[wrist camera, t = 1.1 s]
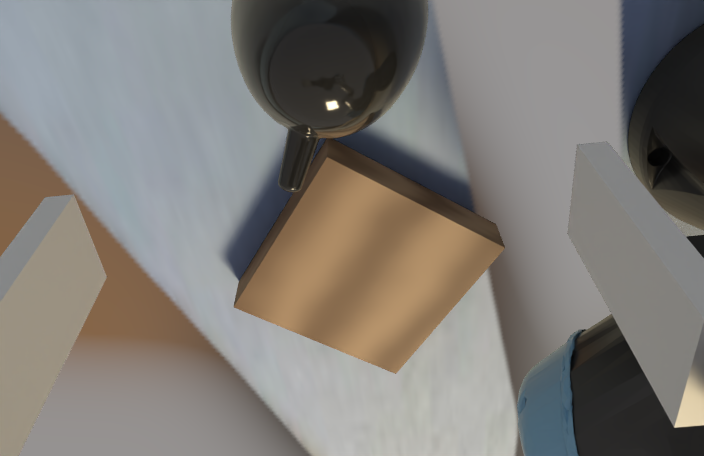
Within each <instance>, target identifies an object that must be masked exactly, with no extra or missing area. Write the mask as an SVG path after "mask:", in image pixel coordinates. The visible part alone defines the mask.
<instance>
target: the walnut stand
mask: <svg viewBox="0 0 704 456" xmlns="http://www.w3.org/2000/svg"><path fill="white" fill-rule="evenodd" d="M504 249H505V246H504V244H503V241H502V239H501V236H500V233H499V231H498V228H497V226H496V224H495V223H493V222H491V221H489V220H487V219H485V218H483V217H481V216H479V215H477V214H475V213H474V212H472V211H470V210H468V209H466V208H464V207H462V206H460V205H458V204H456V203H454V202H452V201H450V200H449V199H447V198H445V197H443V196H441V195H439V194H437V193H435V192H433V191H431V190H429V189H427V188H426V187H424V186H422V185H420V184H418V183H416V182H414V181H412V180H410V179H408V178H406V177H404V176H403V175H401V174H399V173H397V172H395V171H393V170H391V169H389V168H387V167H385V166H383V165H381V164H379V163H378V162H376V161H374V160H372V159H370V158H368V157H366V156H364V155H362V154H360V153H358V152H356V151H355V150H353V149H351V148H349V147H347V146H345V145H343V144H341V143H339V142H337V141H335V140H333V139H332V138H327V139H326V140H325V142H324V144H323V145H322V147H321V149H320V150H319V152H318V153H317V155H316V157H315V158H314V160H313V162H312V163H311V165H310V166H309V169H308V172H307V174H306V177H305V180H304V183H303V185H302V188H301V190H300V191H298V192H294V193H293V194H292V196H291V197H290V199H289V201H288V202H287V204H286V206H285V207H284V209H283V210H282V212H281V214H280V215H279V217H278V219H277V220H276V222H275V224H274V225H273V227H272V228H271V230H270V232H269V233H268V235H267V237H266V238H265V240H264V241H263V243H262V245H261V246H260V248H259V250H258V251H257V253H256V255H255V256H254V258H253V259H252V261H251V263H250V264H249V266H248V268H247V269H246V271H245V272H244V274H243V276H242V277H241V279H240V281H239V283H238V288H237V293H236V298H235V302H234V308H237V309H239V310H242V311H244V312H246V313H249V314H251V315H254V316H256V317H259V318H261V319H264V320H266V321H268V322H271V323H273V324H276V325H278V326H281V327H283V328H285V329H288V330H290V331H293V332H295V333H298V334H300V335H303V336H305V337H307V338H310V339H312V340H315V341H317V342H320V343H322V344H324V345H327V346H329V347H332V348H334V349H337V350H339V351H342V352H344V353H346V354H349V355H351V356H354V357H356V358H359V359H361V360H363V361H366V362H368V363H371V364H373V365H376V366H378V367H381V368H383V369H385V370H388V371H390V372H393V373H395V374H396V373H397V372H398V371H399V369H400V368H401V367H402V366H403V365H404V364H405V363H406V361H407V360H408V359H409V358H410V357H411V356H412V354H413V353H414V352H415V351H416V350H417V349H418V348H419V346H420V345H421V344H422V343H423V342H424V341H425V340H426V338H427V337H428V336H429V335H430V334H431V333H432V331H433V330H434V329H435V328H436V327H437V326H438V325H439V323H440V322H441V321H442V320H443V319H444V318H445V317H446V315H447V314H448V313H449V312H450V311H451V310H452V308H453V307H454V306H455V305H456V304H457V303H458V302H459V300H460V299H461V298H462V297H463V296H464V295H465V293H466V292H467V291H468V290H469V289H470V288H471V287H472V285H473V284H474V283H475V282H476V281H477V280H478V279H479V277H480V276H481V275H482V274H483V273H484V272H485V270H486V269H487V268H488V267H489V266H490V265H491V263H492V262H493V261H494V260H495V259H496V258H497V257H498V256H499V254H500V253H501V252H502V251H503V250H504Z"/></svg>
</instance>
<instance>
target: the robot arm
mask: <svg viewBox="0 0 704 456" xmlns="http://www.w3.org/2000/svg"><path fill="white" fill-rule="evenodd" d="M628 148H629V156H630V161H631V164H632V167H633V170H634V172H635V174H636V176H637V177H636V176H635V174H634V173H633V172H632V171H631V170H630V168H629V167H628V166H627V165H626V164H625V162H624V161H623V160H622V159H621V157H620V156H619V155H618V154H617V153H616V151H615V150H614V149H613V148H612V147H611V145H610V144H609V143H608V142H599V143H589V144H579V145H577V151H576V161H575V169H574V179H573V188H572V197H571V206H570V215H569V225H568V235H569V237H570V239H571V241H572V243H573V244H574V246H575V248H576V250H577V252H578V254H579V255H580V257H581V259H582V261H583V263H584V265H585V266H586V268H587V270H588V272H589V273H590V275H591V277H592V279H593V281H594V283H595V284H596V286H597V288H598V290H599V292H600V294H601V295H602V297H603V299H604V301H605V303H606V305H607V306H608V308H609V310H610V312H611V315H609V316H608V317H606V318H605V319H603V320H602V321H600V322H599V323H597V324H595V325H594V326H592V327H591V328H589V329H587V330H585V329H584V330H578V331H576V332H574V333H573V334H572V335H571V336H570V338H569V339H568V341H567V342H566V343H565V344H564V345H562V346H561V347H560V348H558V349H557V350H556V351H554V352H553V353H552V354H550V355H549V356H547V357H546V358H545V359H543V360H542V361H540V363H538V364H536V365H535V366H534V367H533V368H532V369H531V370H530V371H529V372H528V374H527V375H526V377H525V378H524V380H523V382H522V385H521V388H520V391H519V396H518V404H517V409H518V418H519V420H518V428H519V434H520V439H521V444H522V449H523V452H524V456H704V235H698V236H688V237H686V236H685V235H684V234H683V233H682V231H681V230H680V229H679V228H678V227H677V225H676V224H675V223H674V222H673V221H672V219H671V218H670V217H669V216H668V214H667V213H666V212H665V211H664V210H666V211H667V212H668V213H670V214H671V215H673V216H674V217H676V218H677V219H679V220H681V221H683V222H686V223H688V224H690V225H692V226H695V227H697V228H699V229H701V230H704V24H703V25H702V26H700V27H699V28H697V29H696V30H695V31H693V32H692V33H691V34H689V35H688V36H687V37H686V38H684V39H683V40H682V41H681V42H680V43H679V44H678V45H676V46H675V47H674V48H673V49H672V50H671V51H670V52H669V53H668V55H667V56H666V57H665V58H664V59H663V60H662V61H661V63H660V64H659V65H658V66H657V67H656V69H655V70H654V72H653V73H652V74H651V76H650V77H649V79H648V81H647V82H646V84H645V86H644V87H643V89H642V91H641V93H640V95H639V97H638V100H637V102H636V105H635V107H634V110H633V114H632V117H631V121H630V127H629V135H628ZM663 209H664V210H663ZM106 277H107V276H106V274H105V272H104V269H103V266H102V264H101V262H100V259H99V256H98V254H97V251H96V249H95V247H94V244H93V241H92V239H91V236H90V234H89V231H88V229H87V227H86V224H85V221H84V219H83V216H82V214H81V212H80V209H79V206H78V204H77V201H76V199H75V196H74V195H66V196H54V197H46V198H44V200H43V201H42V202H41V204H40V205H39V206H38V208H37V209H36V211H35V212H34V213H33V215H32V216H31V217H30V219H29V220H28V221H27V222H26V224H25V225H24V227H23V228H22V229H21V230H20V232H19V233H18V234H17V236H16V237H15V238H14V240H13V241H12V242H11V244H10V245H9V246H8V248H7V249H6V251H5V252H4V253H3V254H2V256H1V257H0V456H19V454H20V452H21V450H22V448H23V446H24V444H25V442H26V440H27V438H28V436H29V434H30V432H31V430H32V428H33V426H34V424H35V422H36V420H37V418H38V416H39V414H40V412H41V410H42V408H43V406H44V404H45V402H46V399H47V398H48V395H49V393H50V391H51V389H52V387H53V385H54V383H55V381H56V379H57V377H58V375H59V373H60V371H61V369H62V367H63V365H64V363H65V361H66V359H67V357H68V355H69V353H70V351H71V349H72V347H73V344H74V343H75V341H76V338H77V337H78V334H79V332H80V330H81V328H82V326H83V324H84V322H85V320H86V318H87V316H88V314H89V312H90V310H91V308H92V306H93V304H94V302H95V300H96V298H97V296H98V294H99V292H100V289H101V288H102V286H103V284H104V282H105V279H106Z"/></svg>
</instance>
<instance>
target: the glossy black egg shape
mask: <svg viewBox="0 0 704 456" xmlns="http://www.w3.org/2000/svg"><path fill="white" fill-rule="evenodd" d="M427 24H428V1H427V0H232V7H231V32H232V41H233V47H234V51H235V56H236V59H237V63H238V66H239V69H240V72H241V74H242V77H243V79H244V81H245V83H246V85H247V87H248V89H249V91H250V93H251V94H252V96H253V97H254V99H255V100H256V102H257V103H258V104H259V105H260V107H261V108H262V109H263V110H264V111H265V112H266V113H267V114H268V115H269V116H270V117H271V118H273V119H274V120H275V121H276V122H277V123H279V124H281V125H283V126H284V127H286V128H288V134H287V139H286V144H285V149H284V154H283V159H282V164H281V169H280V174H279V179H278V185H279V186H280V187H281V188H282V189H283V190H285V191H288V192H298V191H300V190H301V188H302V185H303V183H304V180H305V177H306V174H307V172H308V169H309V166H310V163H311V161H312V158H313V155H314V152H315V150H316V147H317V144H318V142H319V139H320V138H339V137H344V136H348V135H351V134H354V133H356V132H359V131H361V130H363V129H365V128H366V127H368V126H370V125H371V124H373V123H374V122H376V121H377V120H378V119H379V118H381V117H382V116H383V115H384V114H385V113H386V112H387V111H388V110H389V109H390V108H391V107H392V106H393V104H394V103H395V102H396V101H397V99H398V98H399V97H400V95H401V94H402V93H403V91H404V90H405V88H406V86H407V85H408V83H409V81H410V80H411V78H412V76H413V74H414V72H415V69H416V67H417V65H418V62H419V59H420V56H421V53H422V50H423V46H424V42H425V37H426V31H427Z"/></svg>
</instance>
